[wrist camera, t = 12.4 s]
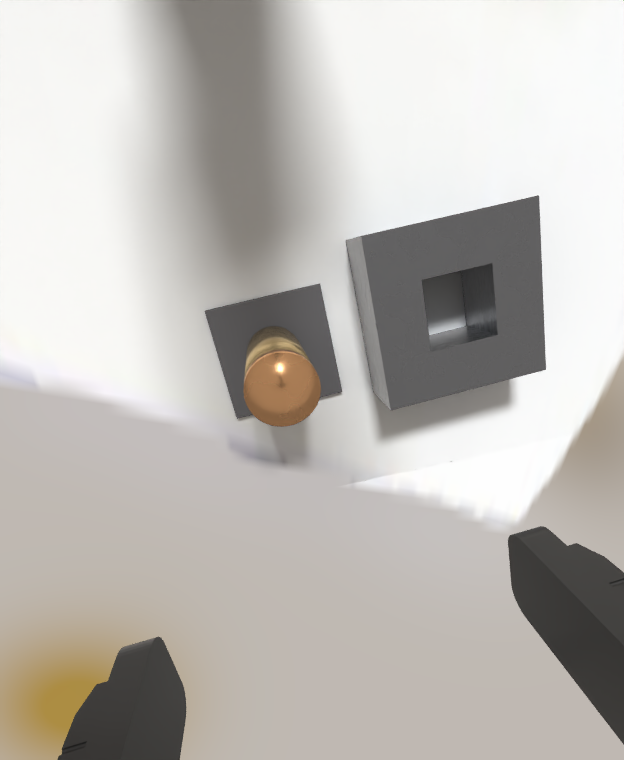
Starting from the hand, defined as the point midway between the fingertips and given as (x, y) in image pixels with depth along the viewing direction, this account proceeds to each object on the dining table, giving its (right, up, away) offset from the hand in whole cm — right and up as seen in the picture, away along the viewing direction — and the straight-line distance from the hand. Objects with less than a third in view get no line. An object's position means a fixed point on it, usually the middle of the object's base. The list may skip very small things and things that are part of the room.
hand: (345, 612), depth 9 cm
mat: (-4, +8, +27) cm, 28 cm away
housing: (+10, +12, +27) cm, 32 cm away
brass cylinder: (-4, +8, +26) cm, 28 cm away
